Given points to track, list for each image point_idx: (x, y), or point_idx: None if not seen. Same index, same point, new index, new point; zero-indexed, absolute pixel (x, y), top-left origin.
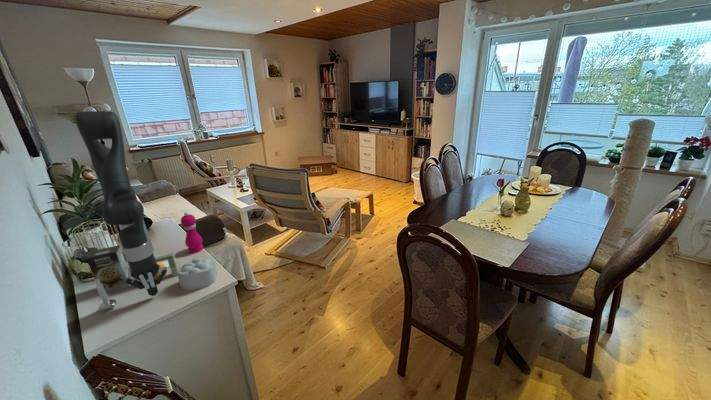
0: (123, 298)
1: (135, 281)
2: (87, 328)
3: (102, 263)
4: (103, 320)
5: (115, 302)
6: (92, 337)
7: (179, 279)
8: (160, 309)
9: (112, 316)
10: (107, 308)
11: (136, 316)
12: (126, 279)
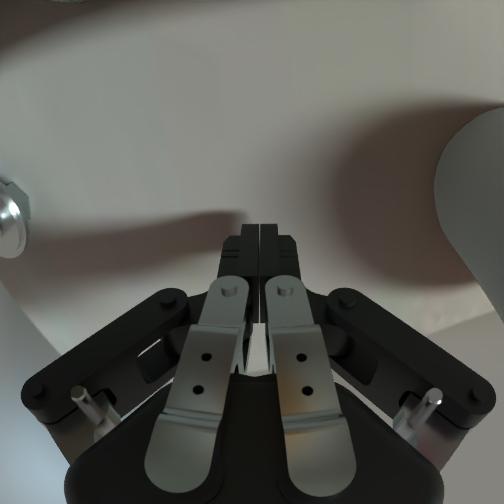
0: (40, 123)
1: (121, 388)
2: (14, 298)
3: None
4: (40, 283)
5: (24, 227)
6: (65, 352)
7: (472, 247)
8: None
9: (62, 276)
10: (15, 254)
11: None
12: (43, 423)
